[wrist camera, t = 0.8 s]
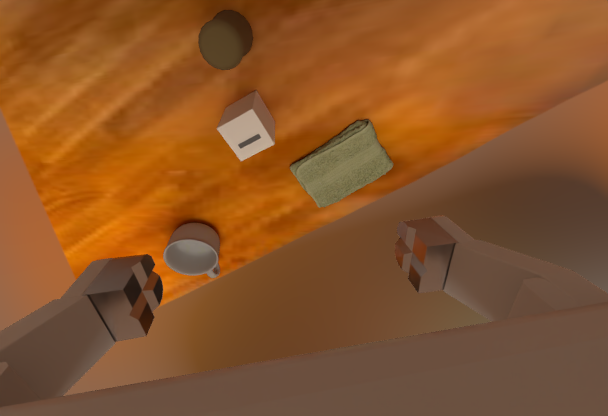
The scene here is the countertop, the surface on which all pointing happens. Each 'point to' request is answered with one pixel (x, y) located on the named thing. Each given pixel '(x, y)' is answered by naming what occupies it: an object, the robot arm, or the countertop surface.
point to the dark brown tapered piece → (225, 40)
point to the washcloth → (343, 164)
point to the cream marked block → (247, 126)
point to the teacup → (193, 250)
